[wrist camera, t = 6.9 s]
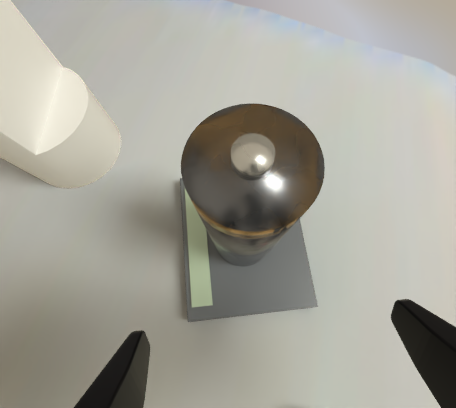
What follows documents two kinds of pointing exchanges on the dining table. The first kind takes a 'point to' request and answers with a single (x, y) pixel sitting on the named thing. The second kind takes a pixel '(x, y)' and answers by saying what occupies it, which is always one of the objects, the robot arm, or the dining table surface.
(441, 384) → the robot arm
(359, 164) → the dining table surface
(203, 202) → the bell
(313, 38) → the dining table surface
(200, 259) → the grey flat panel
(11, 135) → the base with upright slab
